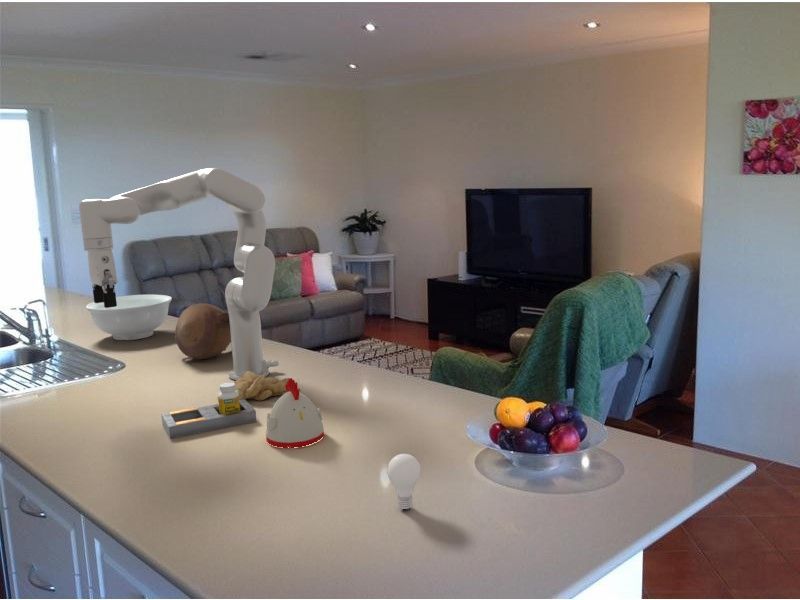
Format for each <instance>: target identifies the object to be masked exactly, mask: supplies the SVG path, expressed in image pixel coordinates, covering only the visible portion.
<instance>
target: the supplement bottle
mask: <svg viewBox="0 0 800 600" xmlns="http://www.w3.org/2000/svg"><path fill="white" fill-rule="evenodd" d="M235 388H236V387H235V383H234V382H224V383H221V384H220V385H219V390H220V391H219V393H218V395H217V399H218V404H219V412H220V415H222V414H227V413H232V412H238V411H240V402H239V393H238V392H237V391H236V390H235Z"/></svg>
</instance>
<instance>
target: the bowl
mask: <svg viewBox="0 0 800 600" xmlns="http://www.w3.org/2000/svg"><path fill="white" fill-rule="evenodd" d="M172 299H173V298H172V296H169V295H166V294H165V295H164V294H131V295H123V296H116V302H117V306H116V307H110V308H105V307H104V302H102V303H94V301H93V302H90V303H88V304H87V305H85V308H86V310H87V311H89V313H90V315H91V318H92V321H93V323H94V325H95V326H96V327H97V328H98V329H99V330H100V331H102V332H104V333H106V334H109V335H111V336H112V338H113V339H114V340H117V341H133V340H140V339H146V338H149V337H151V336H153V335H154V331H155V330H156V329H157V328H159V327H160V326H161V325H162V324H163V323H164V322H165V321H166V319H167V317H168V314H169V307H170V303H171V301H173V300H172Z"/></svg>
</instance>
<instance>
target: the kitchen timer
mask: <svg viewBox="0 0 800 600" xmlns="http://www.w3.org/2000/svg"><path fill="white" fill-rule="evenodd" d="M289 378H290V377H289ZM285 388H286V393H283V394H281V396H280V397H279V398H278V399H277V400H276V401H275V404H274V405H273V407H272V408H271V410H270V413H269V412H268V413H267V416H266V432H265V433H266V434H265V436H266V437H265V438H266V442H268V443H269V444H271V445H273V446H277V447H283V448H288V447H289V448H294V447H302V446H306V445H309V444H312V443H314V442H317V441H318V440H320V439H321V438H322V437H323V436H324V437H325V431H324V430H325V428H324V424H323V417H322V413H321V409H320V408H319V407H318V408H317V407H316V405H315V404H314V403H313V402H312V401H311V399H310V398H309V397H308V396H306V395H305V394H303V393H302V392H301V391H300V388H299V386H298V381H297V382H295V379H293V378H292V377H291V378H290V379H289V381H287V384H286V385H285ZM268 443H267V444H268ZM269 444H268V445H269Z"/></svg>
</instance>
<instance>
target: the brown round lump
mask: <svg viewBox="0 0 800 600" xmlns="http://www.w3.org/2000/svg"><path fill="white" fill-rule="evenodd" d="M174 332H175V333H174V335H175V337H174V343H175V345H177V347H178V349H179V350H180V352H181V353H182V354H183V355H184V356H186V357H188V358H191V359H197V360H198V359H199V360H201V359H202V360H206V359H212V358H215V357H217V356H219V355H220V354H222V353H223V352H224V351H226V350H227V348H228V347H229V346H230V345H231V333H230V320H229V313H228V312H225V311H224V310H223V309H221V308H220V307H218V306H216V305H213V304H211V303H205V302H201V303H194V304H191V305H189V306H188V307H186V308H185V309H184V310H183V312H181V314H180V315H179V317H178V319H177V323H176V325H175V330H174Z"/></svg>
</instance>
